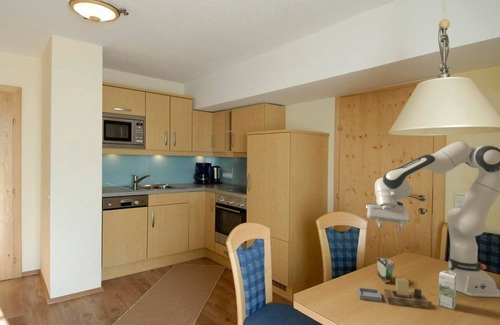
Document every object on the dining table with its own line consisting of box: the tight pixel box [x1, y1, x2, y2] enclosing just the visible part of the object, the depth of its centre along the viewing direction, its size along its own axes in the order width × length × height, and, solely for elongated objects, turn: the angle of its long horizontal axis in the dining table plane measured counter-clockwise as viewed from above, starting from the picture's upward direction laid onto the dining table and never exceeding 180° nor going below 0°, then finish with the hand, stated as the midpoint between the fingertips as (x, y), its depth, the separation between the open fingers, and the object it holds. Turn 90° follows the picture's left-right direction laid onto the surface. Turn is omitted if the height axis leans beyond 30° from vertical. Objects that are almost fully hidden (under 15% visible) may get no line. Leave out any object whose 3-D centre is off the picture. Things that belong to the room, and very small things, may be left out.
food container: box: [376, 256, 395, 284], centre depth 153 cm, size 12×6×10 cm, turn 179°
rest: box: [357, 286, 383, 303], centre depth 135 cm, size 9×8×2 cm
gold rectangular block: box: [394, 277, 410, 298], centre depth 131 cm, size 4×4×10 cm
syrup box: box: [438, 270, 457, 311], centre depth 127 cm, size 6×6×14 cm
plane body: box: [383, 288, 429, 310], centre depth 130 cm, size 16×8×6 cm, turn 76°
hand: (390, 228), depth 144 cm, fingers open, 8 cm apart
